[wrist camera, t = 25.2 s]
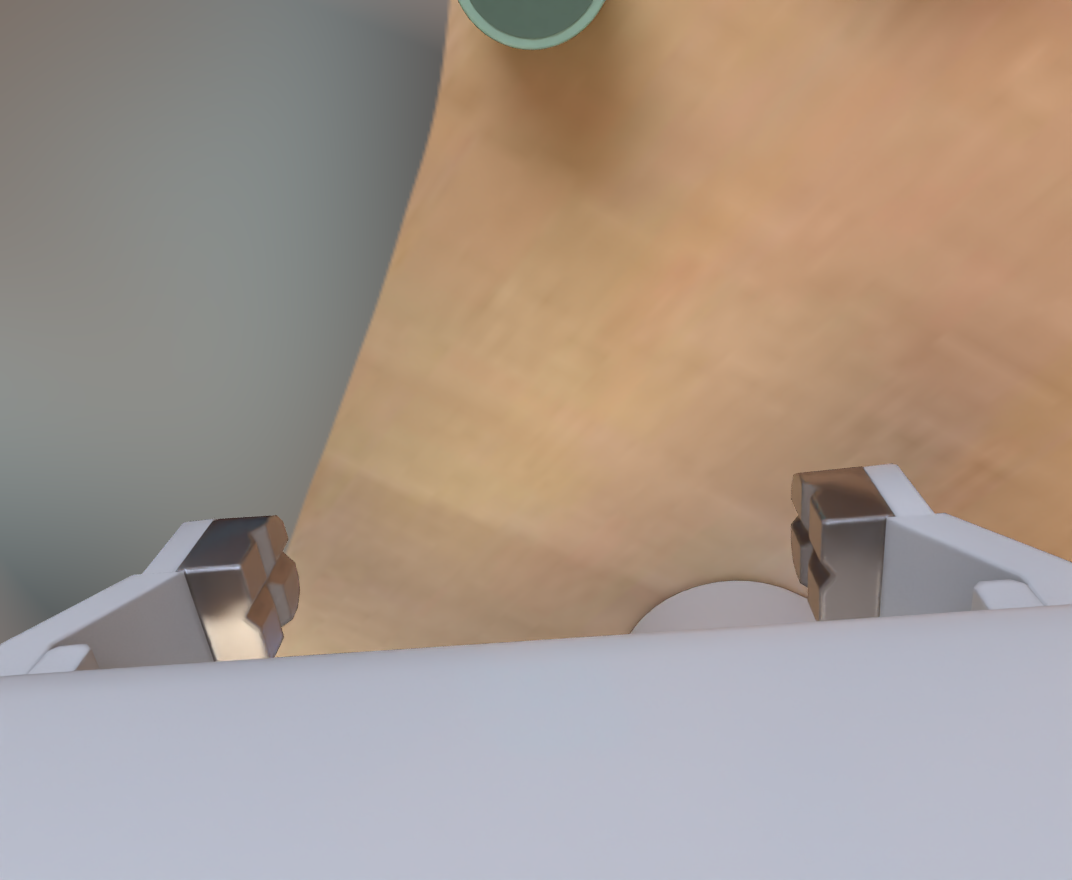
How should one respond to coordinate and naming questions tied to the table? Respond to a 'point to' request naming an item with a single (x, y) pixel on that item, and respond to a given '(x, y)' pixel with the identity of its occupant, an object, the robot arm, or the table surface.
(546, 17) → the tumbler
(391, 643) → the table surface
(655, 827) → the robot arm
